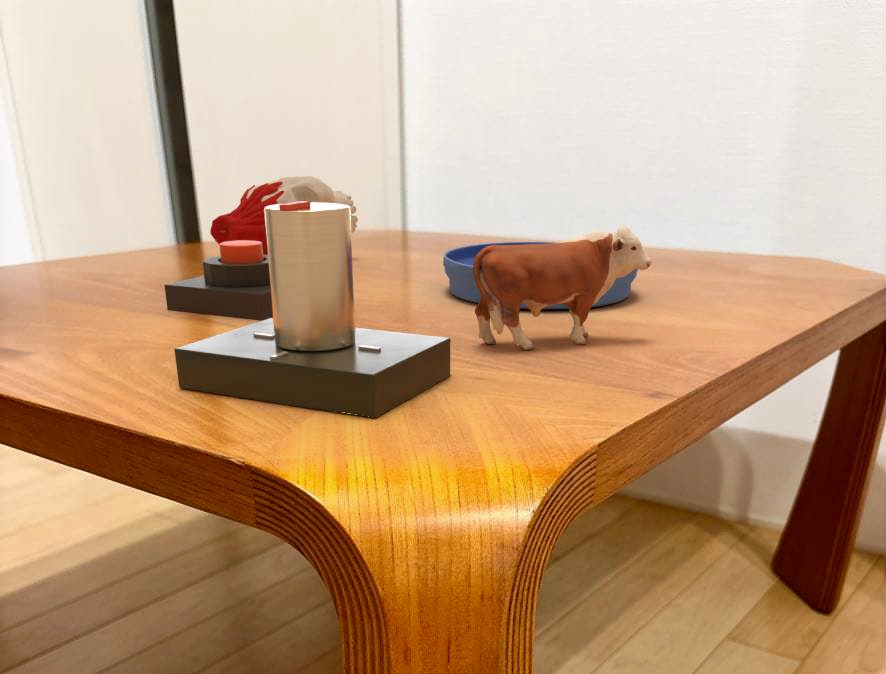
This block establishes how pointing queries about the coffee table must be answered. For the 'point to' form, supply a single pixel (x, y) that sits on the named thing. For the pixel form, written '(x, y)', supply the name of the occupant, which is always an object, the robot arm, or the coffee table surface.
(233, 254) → the button
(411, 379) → the dial panel
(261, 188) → the red cream irregular piece
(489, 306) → the bull figurine
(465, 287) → the bowl
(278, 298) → the knob
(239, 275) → the button box
